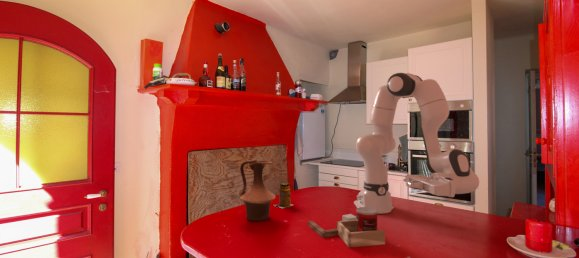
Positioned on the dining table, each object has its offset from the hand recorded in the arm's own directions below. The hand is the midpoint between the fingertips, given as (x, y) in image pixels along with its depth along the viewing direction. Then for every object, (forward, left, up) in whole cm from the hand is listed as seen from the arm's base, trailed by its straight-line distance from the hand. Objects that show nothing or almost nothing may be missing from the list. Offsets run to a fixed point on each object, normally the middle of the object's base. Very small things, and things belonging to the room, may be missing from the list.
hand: (408, 184), depth 111 cm
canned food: (0, -18, -20) cm, 27 cm away
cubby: (0, -21, -20) cm, 29 cm away
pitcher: (-32, -59, -20) cm, 70 cm away
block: (-13, -20, -20) cm, 31 cm away
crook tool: (-11, -32, -20) cm, 40 cm away
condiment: (-49, -44, -20) cm, 69 cm away
